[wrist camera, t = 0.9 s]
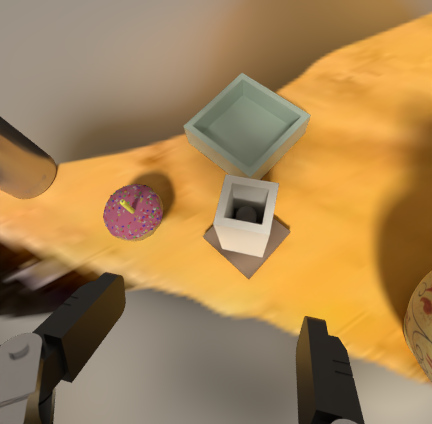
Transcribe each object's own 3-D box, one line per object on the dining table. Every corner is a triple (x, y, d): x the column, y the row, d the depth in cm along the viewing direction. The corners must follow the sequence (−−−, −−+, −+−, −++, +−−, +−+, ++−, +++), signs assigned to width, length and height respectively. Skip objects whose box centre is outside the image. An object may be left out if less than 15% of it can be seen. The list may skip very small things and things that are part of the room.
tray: (188, 142, 47) (183, 126, 43) (242, 92, 50) (242, 72, 46) (249, 190, 43) (250, 177, 39) (304, 133, 46) (310, 115, 42)
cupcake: (181, 217, 43) (159, 183, 32) (144, 259, 41) (107, 240, 30) (143, 187, 45) (110, 147, 34) (107, 226, 44) (60, 197, 32)
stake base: (204, 238, 41) (193, 218, 33) (243, 197, 43) (243, 168, 34) (248, 279, 38) (250, 270, 30) (289, 233, 40) (301, 212, 32)
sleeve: (222, 248, 39) (213, 223, 28) (230, 212, 41) (225, 174, 30) (262, 257, 38) (269, 235, 27) (269, 219, 40) (278, 183, 29)
